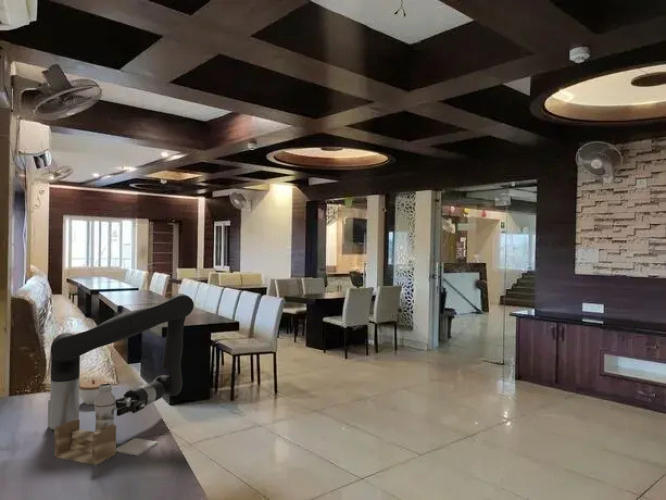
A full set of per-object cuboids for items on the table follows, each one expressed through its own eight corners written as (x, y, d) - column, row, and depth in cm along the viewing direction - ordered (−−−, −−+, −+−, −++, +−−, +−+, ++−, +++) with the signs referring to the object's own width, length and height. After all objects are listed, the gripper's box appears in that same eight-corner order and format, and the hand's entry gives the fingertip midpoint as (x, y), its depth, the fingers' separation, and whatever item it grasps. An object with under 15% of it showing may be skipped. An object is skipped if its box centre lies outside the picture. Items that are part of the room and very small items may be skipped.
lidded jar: (82, 399, 207) (82, 377, 207) (109, 397, 210) (110, 375, 210) (75, 407, 197) (75, 384, 197) (104, 405, 199) (104, 382, 199)
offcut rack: (54, 457, 150) (54, 427, 150) (75, 447, 158) (75, 418, 158) (96, 465, 146) (96, 434, 146) (115, 454, 153) (116, 425, 153)
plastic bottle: (107, 451, 156) (108, 388, 156) (88, 448, 157) (89, 387, 157) (119, 443, 162) (120, 383, 162) (101, 441, 163) (102, 381, 163)
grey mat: (113, 451, 155) (113, 449, 155) (135, 439, 165) (135, 438, 165) (137, 455, 153) (137, 453, 153) (157, 443, 162) (157, 441, 162)
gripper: (123, 384, 178) (89, 397, 162) (157, 388, 174) (125, 402, 158) (123, 405, 178) (89, 420, 162) (156, 409, 174) (124, 425, 158)
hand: (106, 411), depth 160 cm, fingers open, 8 cm apart
